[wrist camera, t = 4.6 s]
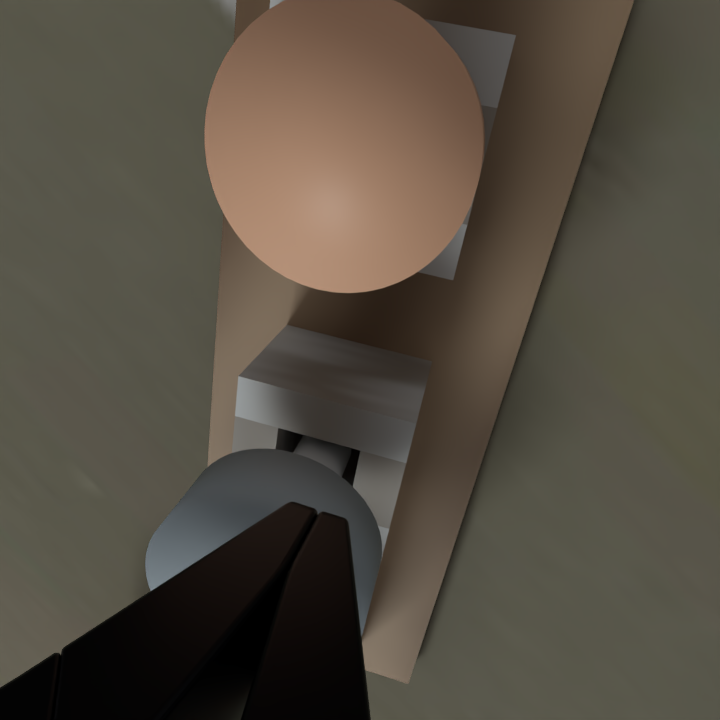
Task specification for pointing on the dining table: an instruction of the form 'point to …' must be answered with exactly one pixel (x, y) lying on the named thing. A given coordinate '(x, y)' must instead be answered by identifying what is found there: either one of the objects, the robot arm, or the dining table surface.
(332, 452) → the slate button
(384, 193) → the terracotta button
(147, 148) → the dining table surface
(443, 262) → the button board
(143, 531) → the dining table surface
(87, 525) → the dining table surface
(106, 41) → the dining table surface
